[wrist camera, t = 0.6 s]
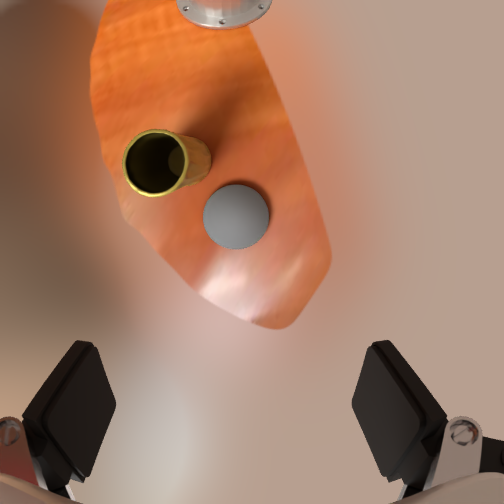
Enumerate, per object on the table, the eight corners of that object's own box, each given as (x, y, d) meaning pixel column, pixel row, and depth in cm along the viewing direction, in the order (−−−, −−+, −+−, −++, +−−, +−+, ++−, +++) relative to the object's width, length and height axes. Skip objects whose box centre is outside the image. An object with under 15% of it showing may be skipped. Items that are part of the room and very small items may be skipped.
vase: (158, 143, 32) (110, 135, 18) (206, 131, 32) (187, 113, 18) (167, 190, 34) (125, 211, 20) (215, 180, 34) (202, 194, 20)
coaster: (203, 184, 34) (202, 185, 33) (268, 184, 34) (269, 185, 33) (204, 247, 36) (204, 249, 35) (267, 247, 37) (268, 249, 36)
